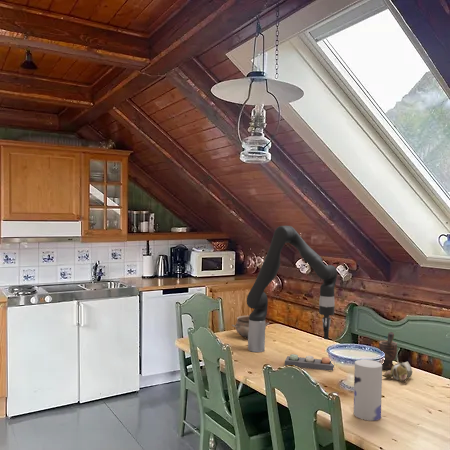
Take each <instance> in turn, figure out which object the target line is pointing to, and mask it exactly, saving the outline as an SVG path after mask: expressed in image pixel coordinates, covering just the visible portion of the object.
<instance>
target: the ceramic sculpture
mask: <svg viewBox="0 0 450 450" xmlns="http://www.w3.org/2000/svg"><path fill="white" fill-rule="evenodd" d="M393 365H394V366H392V369H391V370H386V371H385V373H384V374H382V377H384V378H388V379H390V378H392V377H393V379H394V380H396V381H400V382H401V383H402V382H403V383H404V382H406V381H407V380H408V379H409V378H410V377H412V375H413V369H412V366H411V364H410V363H409V361H405V362H403V361H398V362H397V363H394V364H393Z"/></svg>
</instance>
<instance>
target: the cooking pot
mask: <svg viewBox="0 0 450 450" xmlns="http://www.w3.org/2000/svg"><path fill="white" fill-rule="evenodd" d="M236 319H237V320H236V323H235V324H231V326H232V327H233V328H235V330H236V331H235V332H237V333H238V335H240V336H242V337H243V338H245V339H247V340H248V332H249V315H240V316H237V317H236ZM268 325H270V322H265V329H266V327H267V326H268Z"/></svg>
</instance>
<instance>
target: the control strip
mask: <svg viewBox="0 0 450 450" xmlns="http://www.w3.org/2000/svg"><path fill="white" fill-rule="evenodd" d="M331 361H332V360H331ZM331 361H330V364H322V358H321V359H320V358H314V363H312V362H306V357H300V356H298V361H293V360H290V355H287V356H286V358H285V360H284V367H287V366H286V365H295V366H298V367H297V368H303V369H312V370H321V371H322V370H323V371H329V370H332V371H331V372H333V371H334V369H333V368H335V364H334V365H333V364H332V363H331Z"/></svg>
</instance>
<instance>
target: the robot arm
mask: <svg viewBox="0 0 450 450" xmlns="http://www.w3.org/2000/svg"><path fill="white" fill-rule="evenodd" d="M285 244H291V245H292V246H293V247H294V248H295V249H297V251H298V253H299V255H300V257H301V258H302V260H303V261H305V263H306V264H308V265H309V266H310V267H311V268H312V269H313V271H314V272H315V274H316V276H318V277H319V278H320V279H322V280H323V283H322V284H320V286H319V287H320V288H319V301H318V302H319V305H318V313H319V315H322V331H323V340H329V337H330V335H329V332H330V328H331V321H332V318H331V317H330V316H335V308H336V307H335V302H336V301H335V286H336V283H337V279H338V271H337V268H336V267H335V266H334V265H331V264H328V265H326V264H325V263H324V262H323V258H322V257H321V256H320V255H319V254H318V253H317V252H316V251H315V250H314V249H313V248H311V246H310V245H308V243H307V242H306V241H305V240H304V239H303V238H302V236H301V235H300V234H299V233H298V231H296V229H295V228H294V227H293V226H292V225H279V226H278V227H276V228H275V229H274V232H273V236H272V239H271V242H270V245H269V248H268V251H267V253H266V255H265V257H264V260H263V263H262V265H261V267H260V269H259V272H258V275H257V276H256V279H255V281H254V283H253V284H252V287H251V289H250V290H249V292H248V294H247V297H246V305H247V307H248V308H250V309H253V310H252V312H251V313H250V314H249V315H248V316H249V332H248V339H247V350H248V351H249V352H253V353H262V352H264V351H265V347H266V346H265V345H266V328H265V325H266V324H265V323H266V317H267V315H268V303H269V300H268V295H267V294H266V292H264V291H265V289H266V288H267V287H268V286H269V285H270V284H271V282H272V281H273V280H274V279H275V278H276V276H277V274H278V272H279V269H280V267H281V254H282V253H281V252H282V250H283V248H284V246H285Z"/></svg>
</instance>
